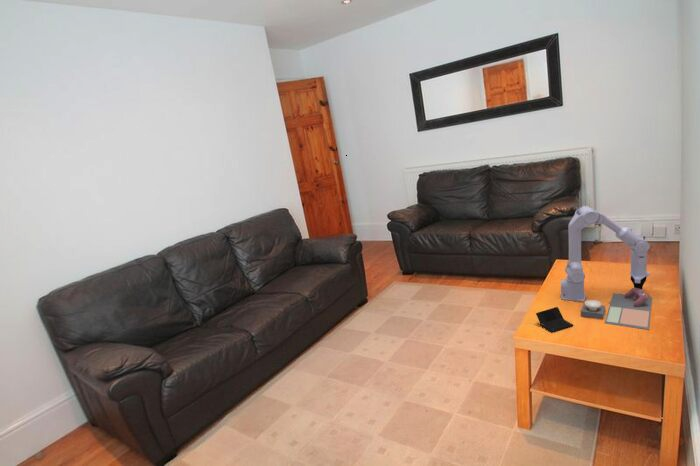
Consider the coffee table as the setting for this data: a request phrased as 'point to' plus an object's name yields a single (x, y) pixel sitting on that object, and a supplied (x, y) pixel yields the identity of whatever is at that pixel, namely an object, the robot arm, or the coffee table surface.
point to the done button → (593, 304)
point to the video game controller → (637, 296)
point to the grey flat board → (628, 312)
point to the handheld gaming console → (553, 320)
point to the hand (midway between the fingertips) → (638, 291)
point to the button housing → (593, 312)
